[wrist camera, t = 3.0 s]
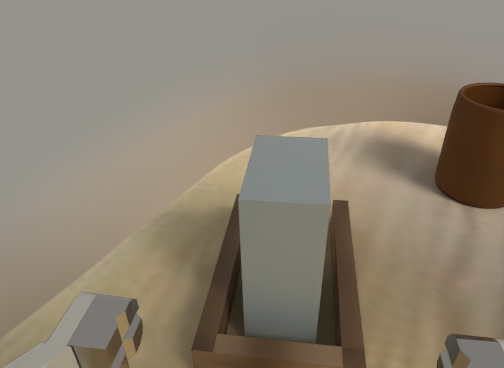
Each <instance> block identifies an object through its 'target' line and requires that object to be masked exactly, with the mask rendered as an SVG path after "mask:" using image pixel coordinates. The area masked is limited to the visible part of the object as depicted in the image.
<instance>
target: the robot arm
mask: <svg viewBox="0 0 504 368" xmlns="http://www.w3.org/2000/svg"><path fill="white" fill-rule="evenodd" d="M138 308H139V307H138V303H137V300H136V299H131V298H124V297H117V296H110V295H103V294H95V293H87V292H81V293H80V294H79V295H78V296H76V298H75V299H74V301H73V302H72V304H71V305H70V307H69V308H68V310H67V311H66V313H65V315H64V316H63V318H62V319H61V321H60V322H59V324H58V325H57V327H56V328H55V330H54V331H53V333H52V334H51V336H50V337H49V339H48V341H47V342H46V343H39V344H38V345H36V346H35V347H33V348H32V349H30V350H28V351H27V352H25V353H24V354H22V355H21V356H19V357H18V358H16V359H15V360H13V361H12V362H10V363H9V364H7V365H6V366H4V367H3V368H129V364H128V359H129V358H130V357H132V356H133V355H134V354H135V353H136V352H137V350H138V347H139V345H140V341H141V337H142V325H143V324H142V319H141V318H140V317H139V316H138V315H137V314H136V312H137V310H138ZM445 344H446V348H447V350H446V351H444V352H442V353H441V354H440V356H439V359H438V361H437V368H504V340H501V339H493V338H487V337H477V336H467V335H457V334H451V335H449V336H448V337H447V339H446V342H445Z"/></svg>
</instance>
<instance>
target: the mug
mask: <svg viewBox="0 0 504 368" xmlns="http://www.w3.org/2000/svg"><path fill="white" fill-rule="evenodd" d="M435 178H436V182H437V185H438V186H439V188H440V189H441V190H442V191H443V192H444V193H446V194H447V195H448V196H450V197H451V198H453V199H455V200H457V201H459V202H462V203H465V204H468V205H471V206H476V207H482V208H500V207H504V84H502V83H475V84H470V85H467V86H464V87H463V88H462V89H461V90H460V91H459V93H458V95H457V98H456V101H455V104H454V106H453V109H452V112H451V116H450V120H449V123H448V127H447V131H446V134H445V138H444V142H443V146H442V150H441V154H440V157H439V161H438V165H437V169H436V175H435Z"/></svg>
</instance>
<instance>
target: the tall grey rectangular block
mask: <svg viewBox="0 0 504 368" xmlns="http://www.w3.org/2000/svg"><path fill="white" fill-rule="evenodd" d="M238 205H239V226H240V247H241V268H242V289H243V310H244V331H245V337H254V338H263V339H273V340H282V341H292V342H301V343H311V344H316V334H317V325H318V316H319V307H320V298H321V288H322V279H323V270H324V261H325V251H326V242H327V233H328V224H329V215H330V184H329V163H328V142H327V138H305V137H282V136H258V135H257V136H256V139H255V142H254V146H253V149H252V153H251V156H250V160H249V163H248V167H247V170H246V174H245V177H244V181H243V184H242V188H241V191H240V195H239V198H238Z"/></svg>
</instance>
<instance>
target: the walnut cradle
mask: <svg viewBox="0 0 504 368" xmlns="http://www.w3.org/2000/svg"><path fill="white" fill-rule="evenodd" d="M239 195H240V194H237V197H236V200H235V203H234V207H233V210H232V214H231V217H230V220H229V224H228V227H227V231H226V234H225V237H224V241H223V244H222V248H221V251H220V255H219V258H218V261H217V265H216V268H215V272H214V275H213V278H212V282H211V285H210V289H209V292H208V295H207V299H206V302H205V306H204V309H203V312H202V316H201V319H200V323H199V326H198V329H197V333H196V336H195V340H194V343H193V346H192V356H193V362H194V368H366V362H365V353H364V344H363V334H362V325H361V316H360V307H359V298H358V289H357V280H356V271H355V262H354V253H353V244H352V235H351V226H350V217H349V208H348V201H341V200H333V206H332V215H331V243H332V265H333V287H334V309H335V332H336V346H329V345H320V344H311V343H301V342H292V341H282V340H273V339H263V338H254V337H245V336H235V335H226V331H227V326H228V322H229V317H230V313H231V308H232V304H233V299H234V295H235V290H236V286H237V281H238V277H239V272H240V268H241V247H240V226H239V205H238V198H239Z"/></svg>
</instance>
